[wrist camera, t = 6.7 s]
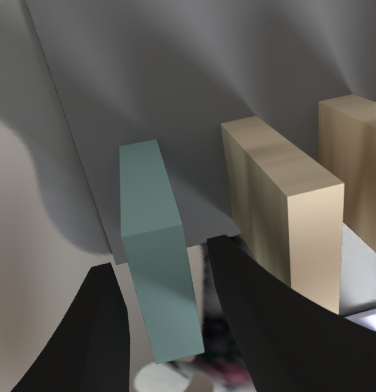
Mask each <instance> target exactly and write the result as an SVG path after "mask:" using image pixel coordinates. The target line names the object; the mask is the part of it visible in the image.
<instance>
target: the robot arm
mask: <svg viewBox="0 0 376 392" xmlns="http://www.w3.org/2000/svg"><path fill="white" fill-rule="evenodd" d="M207 244H208V250H209V256H210V261H211V267H212V272H213V278H214V283H215V288H216V291H217V295H218V298H219V301H220V304H221V307H222V311H223V314H224V316H225V319H226V321H227V323H228V326H229V328H230V330H231V332H232V335H233V337H234V339H235V342H236V344H237V346H238V348H239V351H240V353H241V355H242V357H243V360H244V362H245V364H246V367H247V369H248V371H249V373H250V376H251V378H252V381H253V383H254V386H255V388H256V391H257V392H376V309H373V310H369V311H365V312H362V313H358V314H354V315H351V316H347V317H342V316H340V315H338V314H336V313H334V312H332V311H330V310H328V309H326V308H324V307H322V306H320V305H318V304H317V303H315V302H313V301H311V300H310V299H308V298H306V297H305V296H303V295H301V294H300V293H298V292H297V291H295V290H294V289H292V288H291V287H289V286H288V285H286V284H285V283H283V282H282V281H280V280H279V279H278V278H276V277H275V276H274V275H272V274H271V273H270V272H268V271H267V270H266V269H264V268H263V267H262V266H261V265H259V264H258V263H257V262H256V261H254V260H253V259H252V258H251V257H250V256H249V255H248V254H246V253H245V252H244V251H243V250H242V249H241V248H240V247H239V246H238V245H237V244H236V243H235V242H234V241H233V240H232V239H231V238H230V237H229V236H227V235H225V234H224V235H220V236H216V237H212V238H208V239H207ZM129 371H130V332H129V322H128V312H127V307H126V305H125V302H124V299H123V296H122V293H121V291H120V287H119V285H118V282H117V279H116V276H115V273H114V270H113V268H112V265H111V263H106V264H102V265H98V266H94V267H91V269H90V270H89V272H88V274H87V276H86V278H85V279H84V281H83V283H82V285H81V287H80V289H79V291H78V293H77V295H76V296H75V298H74V300H73V302H72V304H71V305H70V307H69V309H68V311H67V312H66V314H65V316H64V318H63V319H62V321H61V323H60V324H59V326H58V327H57V329H56V331H55V332H54V334H53V335H52V337H51V338H50V340H49V341H48V343H47V345H46V346H45V347H44V349H43V350H42V352H41V353H40V355H39V356H38V357H37V359H36V360H35V362H34V363H33V364H32V366H31V367H30V368H29V370H28V371H27V372H26V374H25V375H24V376H23V377H22V379H21V380H20V381H19V382H18V384H17V385H16V386H15V387H14V388H13V389H12V391H11V392H129Z"/></svg>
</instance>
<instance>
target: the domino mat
mask: <svg viewBox="0 0 376 392" xmlns="http://www.w3.org/2000/svg"><path fill="white" fill-rule="evenodd" d="M25 1H26V4H27V7H28V9H29V12H30V15H31V18H32V21H33V24H34V27H35V30H36V33H37V36H38V39H39V41H40V44H41V47H42V50H43V53H44V56H45V59H46V62H47V65H48V68H49V71H50V73H51V76H52V79H53V82H54V85H55V88H56V91H57V94H58V97H59V100H60V103H61V105H62V108H63V111H64V114H65V117H66V120H67V123H68V126H69V129H70V132H71V135H72V137H73V140H74V143H75V146H76V149H77V152H78V155H79V158H80V161H81V164H82V167H83V169H84V172H85V175H86V178H87V181H88V184H89V187H90V190H91V193H92V196H93V199H94V201H95V204H96V207H97V210H98V213H99V216H100V219H101V222H102V225H103V228H104V231H105V233H106V236H107V239H108V242H109V245H110V248H111V251H112V254H113V257H114V260H115V263H116V265H118V264H122V263H126V262H128V261H127V257H126V254H125V250H124V246H123V243H122V239H121V207H120V150H119V146H123V145H129V144H134V143H139V142H144V141H150V140H155V139H157V143H158V146H159V149H160V152H161V156H162V159H163V162H164V165H165V169H166V172H167V175H168V179H169V182H170V185H171V188H172V192H173V195H174V198H175V202H176V205H177V208H178V211H179V215H180V218H181V221H182V225H183V230H184V236H185V242H186V248H187V247H191V246H195V245H199V244H203V243H207V239H208V238H212V237H216V236H220V235H224V234H225V235H227V236H229V237H231V236H235V235H239V234H241V233H240V231H239V229H238V227H237V225H236V224H235V222H234V220H233V215H232V207H231V199H230V192H229V184H228V177H227V169H226V161H225V154H224V146H223V139H222V131H221V123H225V122H230V121H234V120H239V119H243V118H248V117H252V116H257V117H258V118H260V119H261V120H262V121H264V122H265V123H266V124H267V125H269V126H270V127H271V128H273V129H274V130H275V131H277V132H278V133H279V134H281V135H282V136H283V137H285V138H286V139H287V140H288V141H290V142H291V143H292V144H294V145H295V146H296V147H298V148H299V149H300V150H302V151H303V152H304V153H306V154H307V155H308V156H310V157H311V158H312V159H313V160H315V161H316V162H317V163H318V102H319V101H323V100H328V99H332V98H337V97H341V96H346V95H350V94H354V95H357V96H359V97H362V98H365V99H368V100H371V101H373V102H376V0H25Z"/></svg>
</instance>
